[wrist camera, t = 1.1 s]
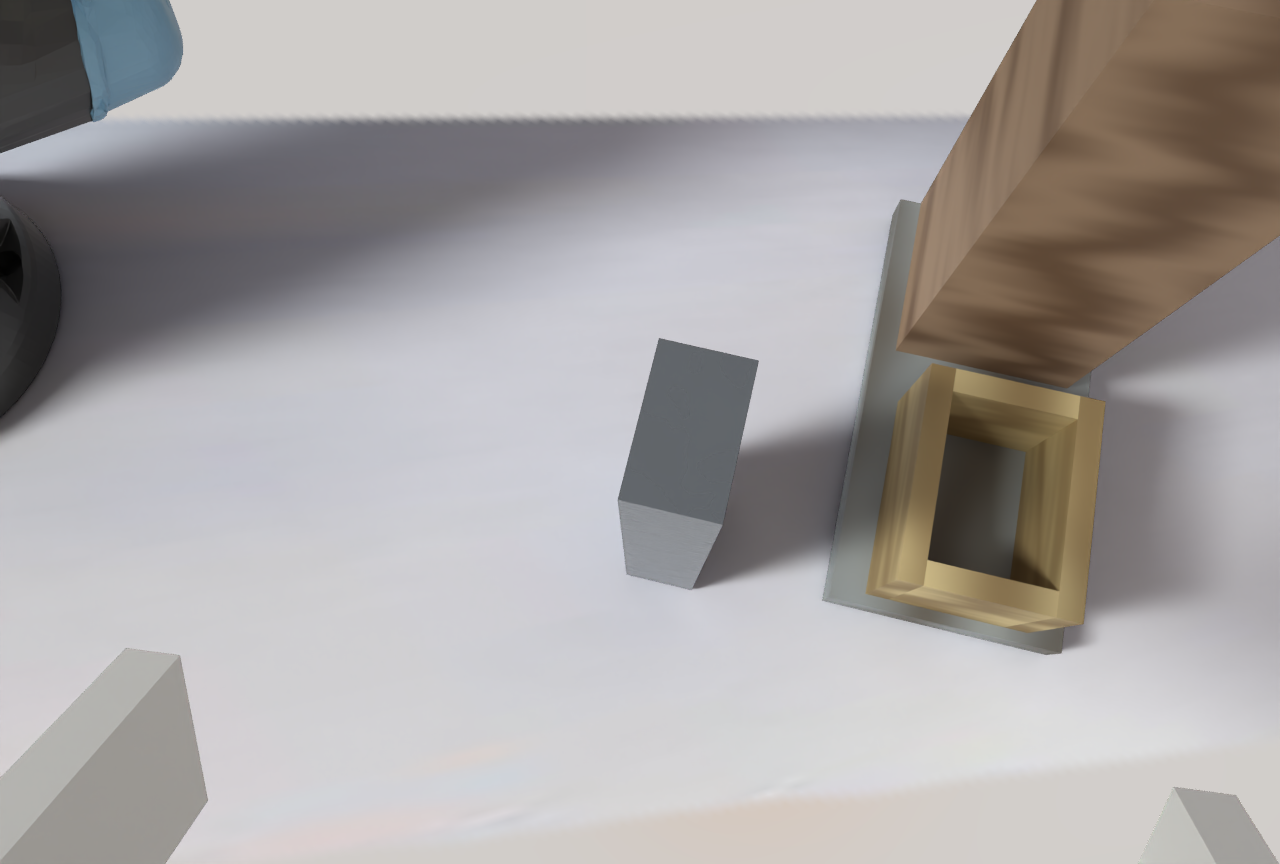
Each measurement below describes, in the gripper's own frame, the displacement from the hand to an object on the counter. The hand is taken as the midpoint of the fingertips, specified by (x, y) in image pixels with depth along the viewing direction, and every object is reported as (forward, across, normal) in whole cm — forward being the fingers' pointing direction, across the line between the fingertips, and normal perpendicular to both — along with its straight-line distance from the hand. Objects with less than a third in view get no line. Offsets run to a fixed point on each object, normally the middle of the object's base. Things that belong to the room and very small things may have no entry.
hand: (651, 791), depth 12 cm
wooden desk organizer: (+31, +13, -7) cm, 34 cm away
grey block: (+26, 0, -12) cm, 29 cm away
